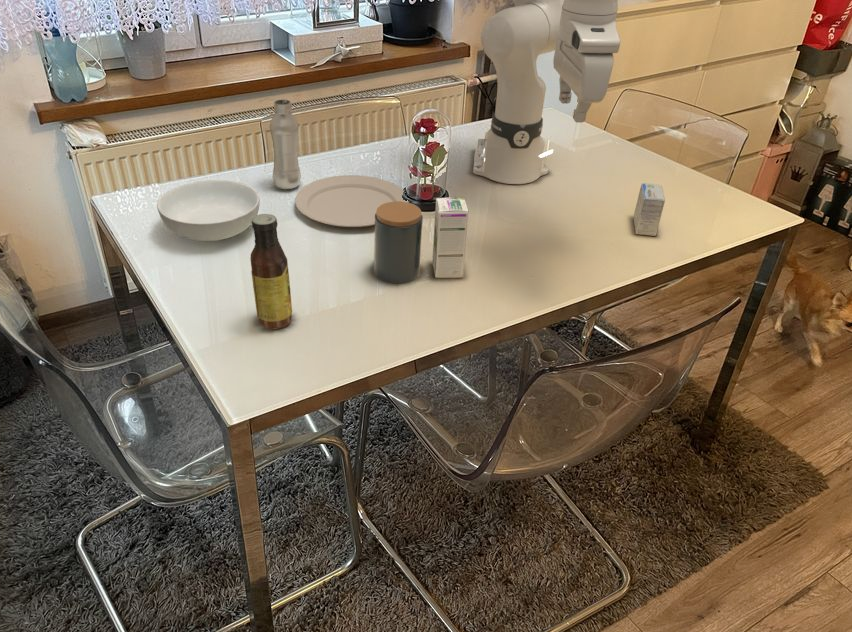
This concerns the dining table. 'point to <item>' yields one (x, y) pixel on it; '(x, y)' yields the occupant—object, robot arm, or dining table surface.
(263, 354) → the dining table surface
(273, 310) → the sauce bottle
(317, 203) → the plate
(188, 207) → the serving bowl
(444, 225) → the syrup box
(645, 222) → the medicine box
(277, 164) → the plastic bottle
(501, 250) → the dining table surface
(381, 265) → the canister
